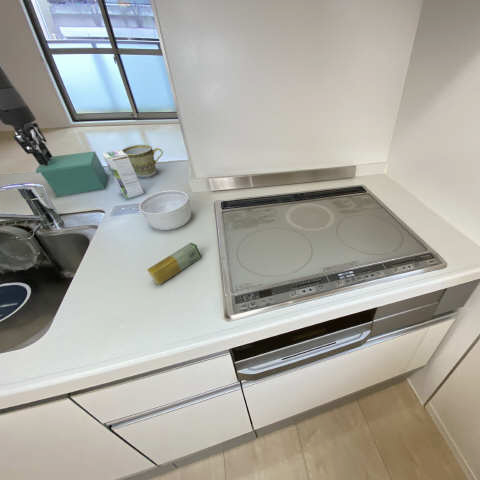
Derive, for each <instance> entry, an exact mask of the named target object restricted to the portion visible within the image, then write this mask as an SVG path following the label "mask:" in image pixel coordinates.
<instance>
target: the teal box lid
mask: <svg viewBox="0 0 480 480" xmlns="http://www.w3.org/2000/svg"><path fill="white" fill-rule="evenodd" d="M40 150H41V152H42V153H43V155H44V156H45V157H46V159H47V161H48V164H44V165H40V164H39V165H38V166H37V167H36V170H35V172H36V173H37V174H41V172H48V171H56V170H63V169H70V168H78V167H85V166H92V163H93V160H94V157H95V154H96V155H97V153H96V151H95V150H94V151H88V152H87V151H86V152H79V153H69V154H62V155H52V157H51V158H49V156H48V155H47V149H46V148H43V147H40Z"/></svg>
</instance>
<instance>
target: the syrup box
mask: <svg viewBox="0 0 480 480" xmlns="http://www.w3.org/2000/svg"><path fill="white" fill-rule="evenodd" d="M122 150H123V149H117V150H110V151H106V152H104V153H102V157H103V159H104V160H105V163H106V165H107V167H108V169H109V170H110V173H111V175H112V177H113V179H114V181H115V183H116V185H117V187H118V189H119V191H120V193H121V194H122V196H124V198H126V199H128V200H129V199H132V198H134V197H138V196H140V195H143V194H145V192H144V189H143V187H142V185H141V182H140V180H139V178H138V175H137V174H136V173H135V171H134V169H133V167H132V164H131V162H130V160H129V158H128V155H127V154H126V153H125V152H123V151H122Z"/></svg>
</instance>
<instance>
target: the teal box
mask: <svg viewBox="0 0 480 480" xmlns="http://www.w3.org/2000/svg"><path fill="white" fill-rule="evenodd" d="M40 174H41V176H42V177H43V179H44V180H45V181H46V183H47V184H48V185H49V187H50V189H51V190H52V191H53V192H54V194H55V195H56V197H63V196H69V195H74V194H81V193H87V192H88V193H89V192H93V191H97V190H98V191H99V190H104V189H105V188H106V184H107V181H108V174H107V172H106V170H105V168H104V165H103V164H102V162H101V160H100V158H99V156H98V155H97V153H96V154H95V157H94V160H93V163H92V166H85V167H78V168H70V169H63V170H56V171H48V172H41V173H40ZM105 190H106V189H105Z"/></svg>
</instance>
